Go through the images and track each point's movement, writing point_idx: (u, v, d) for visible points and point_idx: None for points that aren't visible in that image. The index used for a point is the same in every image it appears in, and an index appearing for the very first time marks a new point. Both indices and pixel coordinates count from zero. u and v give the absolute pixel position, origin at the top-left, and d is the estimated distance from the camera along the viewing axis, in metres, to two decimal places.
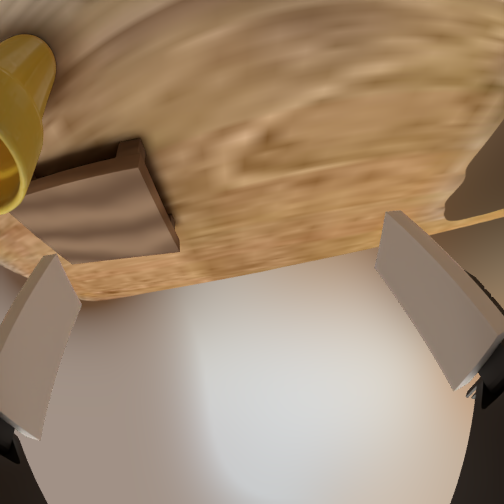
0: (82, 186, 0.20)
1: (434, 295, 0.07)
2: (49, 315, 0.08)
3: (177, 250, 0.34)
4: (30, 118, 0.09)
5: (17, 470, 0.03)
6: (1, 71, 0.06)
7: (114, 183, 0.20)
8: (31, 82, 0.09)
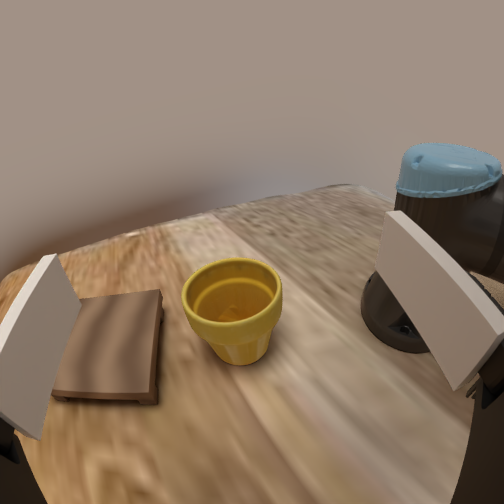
0: (145, 350, 0.29)
1: (434, 295, 0.07)
2: (49, 315, 0.08)
3: None
4: (232, 339, 0.25)
5: (17, 470, 0.03)
6: (265, 332, 0.26)
7: (138, 372, 0.26)
8: (244, 347, 0.27)
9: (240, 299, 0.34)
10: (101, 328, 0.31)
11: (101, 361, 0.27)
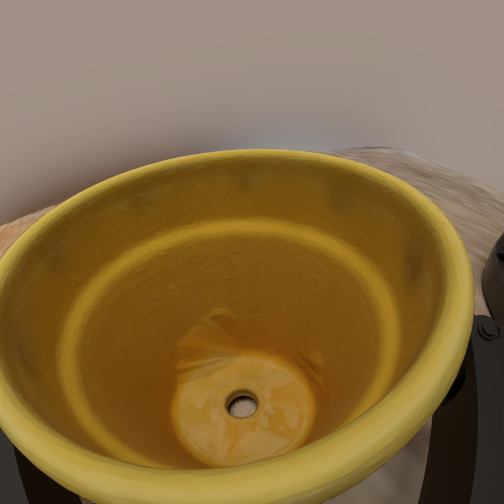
0: None
1: None
2: None
3: None
4: None
5: None
6: None
7: None
8: None
9: (243, 290, 0.11)
10: None
11: None
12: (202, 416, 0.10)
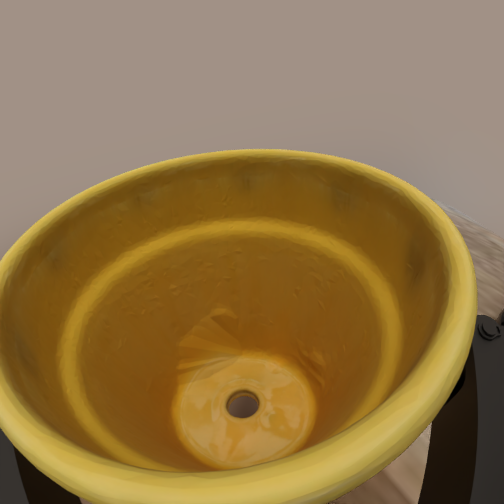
0: None
1: None
2: None
3: None
4: None
5: None
6: None
7: None
8: None
9: (244, 291, 0.11)
10: None
11: None
12: (203, 416, 0.10)
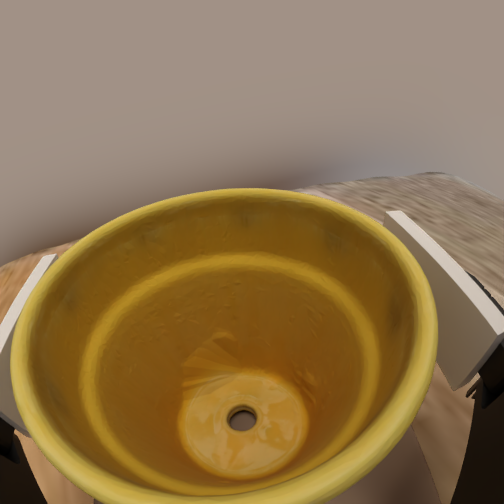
0: None
1: (434, 295, 0.07)
2: None
3: None
4: None
5: (17, 470, 0.03)
6: None
7: (406, 483, 0.08)
8: None
9: (243, 317, 0.12)
10: None
11: None
12: (206, 429, 0.11)
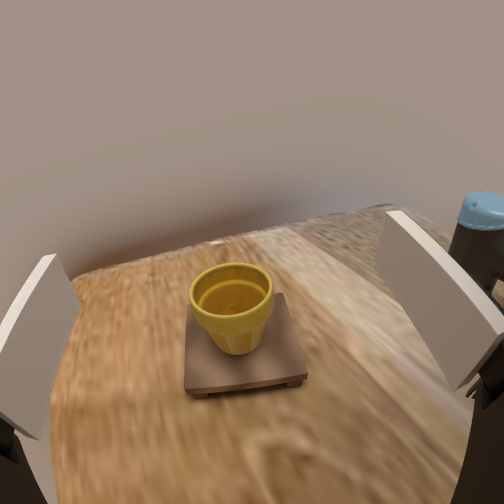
0: (292, 342, 0.38)
1: (434, 295, 0.07)
2: (49, 315, 0.08)
3: (187, 387, 0.32)
4: (230, 330, 0.31)
5: (17, 470, 0.03)
6: (258, 325, 0.32)
7: (293, 359, 0.35)
8: (241, 337, 0.33)
9: (238, 298, 0.40)
10: None
11: (253, 355, 0.36)
12: None
